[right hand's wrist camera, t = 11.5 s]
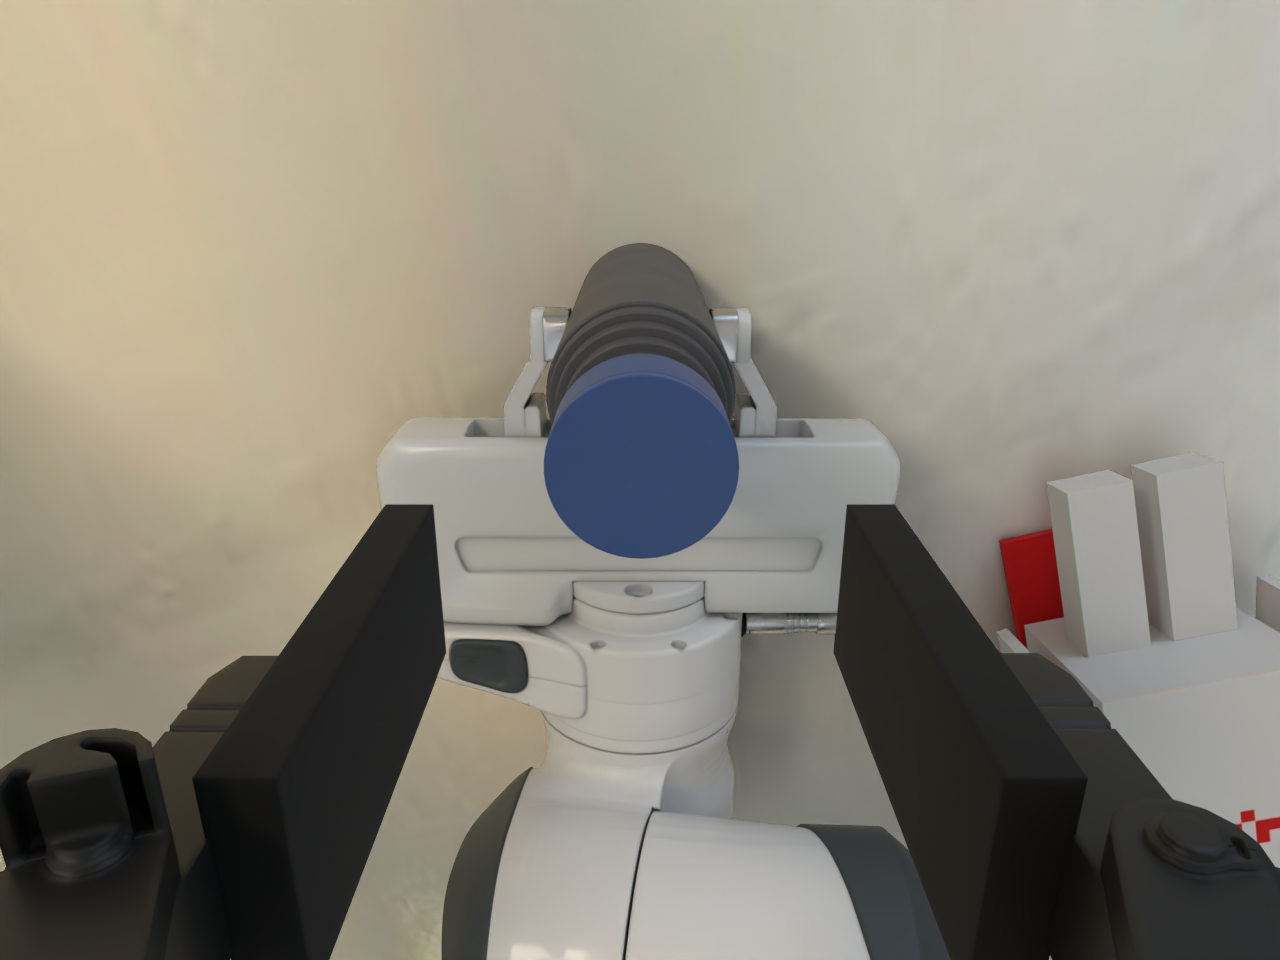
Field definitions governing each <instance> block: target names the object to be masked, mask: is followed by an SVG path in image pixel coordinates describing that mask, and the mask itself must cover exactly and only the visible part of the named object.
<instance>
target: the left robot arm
mask: <svg viewBox="0 0 1280 960" xmlns="http://www.w3.org/2000/svg"><path fill="white" fill-rule="evenodd" d="M571 313H572V310H571V308H562V307H533V308H532V310H531V312H530V321H529V330H530V354H531V356H530V358H529V359H528V361H527V363H526V365H525V367H524V369H523V371H522V372H521V374H520V376H519V378H518V380H517V382H516V384H515V385H514V387H513V389H512V391H511V393H510V395H509V397H508V399H507V401H506V402H505V404H504V406H503V407H504V418H431V417H420V418H413V419H410V420H408V421H407V422H406V423H405V424H404V425H403V426H402V427H401V428H400V429H399V430H398V431H397V432H396V433H395V434H394V435H393V436H392V437H391V438H390V439H389V441H388V442H387V444H386V445H385V447H384V448H383V449H382V451H381V453H380V455H379V458H378V462H377V483H378V492H379V499H380V505H381V510H382V509H383V508H384V506H385V505H386V504H433V508H434V519H435V530H436V542H437V553H438V564H439V576H440V587H441V598H442V610H443V621H444V632H445V643H446V655H445V657H444V660H443V663H442V665H441V668H440V670H439V673H438V676H437V678H440V679H442V680H446V681H449V682H452V683H456V684H460V685H464V686H467V687H471V688H475V689H478V690H482V691H485V692H489V693H492V694H496V695H499V696H502V697H505V698H508V699H512V700H515V701H518V702H520V703H523V704H526V705H529V706H532V707H534V708H537V709H539V710H541V714H542V717H543V720H544V723H545V727H546V731H547V749H546V755H545V758H544V762H543V763H542V764H541V765H540V766H539V767H538V768H533V767H530V768H529V769H527V770H526V771H524V772H523V773H522V774H521V775H519V776H518V777H517V778H516V779H515V780H514V781H513V782H512V783H511V784H510V785H509V786H508V787H507V788H506V789H505V790H504V791H503V792H502V793H501V794H500V795H499V796H498V797H497V798H496V799H495V800H494V801H493V803H492V804H491V805H490V806H489V807H488V808H487V809H486V810H485V811H484V812H483V813H482V814H481V815H480V817H479V818H478V819H477V820H476V822H475V823H474V824H473V826H472V827H471V829H470V830H469V832H468V833H467V835H466V837H465V839H464V841H463V843H462V845H461V847H460V849H459V852H458V854H457V857H456V859H455V862H454V865H453V868H452V871H451V874H450V877H449V881H448V885H447V890H446V896H445V903H444V912H443V924H442V960H951V959H950V956H949V954H948V951H947V948H946V946H945V943H944V941H943V938H942V935H941V933H940V930H939V927H938V925H937V922H936V920H935V917H934V914H933V912H932V909H931V907H930V904H929V901H928V899H927V896H926V893H925V891H924V888H923V886H922V883H921V880H920V878H919V875H918V872H917V870H916V867H915V865H914V862H913V859H912V857H911V854H910V851H909V850H908V849H907V848H906V847H904V846H903V845H902V844H901V843H900V842H899V841H898V840H897V839H896V838H894V837H893V836H892V835H891V834H890V833H889V832H887V831H886V830H885V829H884V828H882V827H880V826H856V825H820V824H800V825H798V826H796V827H795V826H786V825H777V824H769V823H760V822H751V821H743V820H734V819H732V813H733V798H734V769H733V764H732V760H731V757H730V754H729V751H728V745H727V741H728V736H729V733H730V731H731V728H732V726H733V724H734V721H735V718H736V714H737V709H738V699H739V680H740V660H741V637H743V635H745V634H750V635H751V634H756V635H758V634H775V635H776V634H786V633H787V634H788V633H792V632H793V633H797V632H815V633H816V634H824V635H830V634H835V632H836V621H837V610H838V598H839V587H840V576H841V564H842V553H843V542H844V530H845V519H846V508H847V504H894V505H895V502H896V497H897V491H898V485H899V479H900V460H899V458H898V455H897V453H896V451H895V449H894V448H893V447H892V445H891V444H890V442H889V441H888V440H887V438H886V437H885V436H884V435H883V434H882V433H881V432H880V431H879V430H878V429H877V428H876V427H875V426H874V425H873V424H872V423H871V422H869V421H867V420H865V419H856V418H855V419H847V418H777V406H776V404H775V402H774V400H773V398H772V396H771V394H770V392H769V391H768V389H767V387H766V385H765V383H764V381H763V379H762V377H761V376H760V374H759V372H758V370H757V368H756V366H755V364H754V362H753V361H752V359H751V357H750V352H751V330H752V319H751V312H750V310H749V309H748V308H710V310H709V313H710V315H711V317H712V320H713V322H714V324H715V327H716V329H717V332H718V334H719V336H720V339H721V341H722V344H723V346H724V348H725V351H726V353H727V356H728V358H729V361H730V362H733V364H734V366H735V368H736V370H737V372H738V374H739V376H740V377H741V379H742V381H743V383H744V385H745V387H746V388H747V390H748V392H749V394H750V396H749V395H748V394H747V393H738V394H737V395H736V396H735V410H734V418H732V419H731V424H730V426H731V429H732V432H733V435H734V438H735V441H736V445H737V450H738V455H739V477H738V483H737V488H736V492H735V494H734V497H733V500H732V502H731V504H730V506H729V508H728V510H727V512H726V514H725V515H724V516H723V518H722V519H721V521H720V522H719V523H718V524H717V525H716V526H715V527H714V529H713V530H712V531H711V532H710V533H708V534H707V535H706V536H705V537H704V538H702V539H701V540H700V541H698V542H696V543H695V544H693V545H692V546H690V547H688V548H686V549H684V550H681V551H679V552H676V553H673V554H670V555H667V556H662V557H657V558H647V559H637V558H626V557H620V556H616V555H613V554H609V553H606V552H604V551H601V550H599V549H597V548H595V547H593V546H591V545H589V544H588V543H586V542H585V541H583V540H582V539H580V538H579V537H578V536H576V535H575V534H574V533H573V532H572V531H571V530H570V529H569V528H568V527H567V526H566V525H565V523H564V522H563V521H562V520H561V518H560V517H559V515H558V514H557V512H556V511H555V509H554V507H553V505H552V503H551V500H550V498H549V496H548V492H547V489H546V485H545V479H544V455H545V448H546V445H547V441H548V438H549V434H550V431H551V428H552V424H551V420H550V418H546V403H545V395H544V394H543V393H533V394H532V395H531V393H532V391H533V389H534V387H535V385H536V383H537V382H538V380H539V378H540V376H541V374H542V372H543V371H544V369H545V367H546V365H547V363H548V361H552V360H553V358H554V355H555V353H556V350H557V348H558V345H559V343H560V340H561V338H562V335H563V333H564V330H565V328H566V325H567V323H568V320H569V318H570V315H571Z"/></svg>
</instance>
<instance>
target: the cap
mask: <svg viewBox="0 0 1280 960" xmlns="http://www.w3.org/2000/svg"><path fill="white" fill-rule="evenodd" d="M738 477H739V455H738V450H737V445H736V441H735V438H734V435H733V432H732V429H731V426H730V423H729V420H728V417H727V414H726V411H725V408H724V406H723V404H722V402H721V400H720V398H719V396H718V395H717V393H716V392H715V390H714V389H713V388H712V386H711V385H710V384H709V383H708V382H707V381H706V380H705V379H704V378H703V377H702V376H701V375H699V374H698V373H697V372H696V371H694V370H693V369H691V368H689V367H688V366H686V365H685V364H682V363H680V362H678V361H676V360H673V359H670V358H667V357H663V356H658V355H652V354H632V355H624V356H620V357H615V358H612V359H610V360H607V361H604V362H602V363H600V364H598V365H596V366H594V367H593V368H591V369H590V370H588V371H587V372H586V373H584V374H583V375H582V376H581V377H580V378H579V379H577V380H576V381H575V382H574V384H573V385H572V386H571V387H570V388H569V390H568V391H567V392H566V394H565V396H564V397H563V399H562V400H561V403H560V405H559V407H558V409H557V412H556V415H555V418H554V421H553V425H552V428H551V431H550V434H549V438H548V441H547V445H546V448H545V455H544V479H545V485H546V489H547V492H548V496H549V498H550V500H551V503H552V505H553V507H554V509H555V511H556V512H557V514H558V515H559V517H560V518H561V520H562V521H563V522H564V523H565V525H566V526H567V527H568V528H569V529H570V530H571V531H572V532H573V533H574V534H575V535H576V536H578V537H579V538H580V539H582V540H583V541H585V542H586V543H588V544H589V545H591V546H593V547H595V548H597V549H599V550H601V551H604V552H606V553H609V554H613V555H616V556H620V557H626V558H637V559H647V558H657V557H662V556H667V555H670V554H673V553H676V552H679V551H681V550H684V549H686V548H688V547H690V546H692V545H693V544H695V543H696V542H698V541H700V540H701V539H702V538H704V537H705V536H706V535H707V534H708V533H710V532H711V531H712V530H713V529H714V527H715V526H716V525H717V524H718V523H719V522H720V521H721V519H722V518H723V516H724V515H725V514H726V512H727V510H728V508H729V506H730V504H731V502H732V500H733V497H734V494H735V492H736V488H737V483H738Z"/></svg>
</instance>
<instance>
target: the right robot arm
mask: <svg viewBox="0 0 1280 960" xmlns="http://www.w3.org/2000/svg"><path fill="white" fill-rule="evenodd" d="M445 655H446V643H445V632H444V621H443V610H442V598H441V587H440V576H439V564H438V553H437V542H436V530H435V519H434V508H433V504H386V505H385V506H384V508H383V509H382V510H381V512H380V513H379V515H378V516H377V517H376V519H375V520H374V522H373V523H372V525H371V526H370V527H369V529H368V530H367V532H366V533H365V534H364V536H363V537H362V539H361V540H360V542H359V543H358V544H357V546H356V547H355V549H354V550H353V551H352V553H351V554H350V556H349V557H348V558H347V560H346V561H345V563H344V564H343V566H342V567H341V568H340V570H339V571H338V573H337V574H336V575H335V577H334V578H333V580H332V581H331V583H330V584H329V585H328V587H327V588H326V590H325V591H324V592H323V594H322V595H321V597H320V598H319V600H318V601H317V602H316V604H315V605H314V607H313V608H312V609H311V611H310V612H309V614H308V615H307V617H306V618H305V619H304V621H303V622H302V624H301V625H300V626H299V628H298V629H297V631H296V632H295V633H294V635H293V636H292V638H291V639H290V641H289V642H288V643H287V645H286V646H285V648H284V649H283V650H282V652H281V653H280V655H279V656H242V657H240V658H239V659H237V660H236V661H234V662H233V663H231V664H230V665H228V666H227V667H225V668H223V669H222V670H220V671H219V672H217V673H216V674H214V675H213V676H211V677H210V678H208V680H207V681H206V682H205V683H204V685H203V686H202V687H201V688H200V690H199V691H198V692H197V693H196V694H195V696H194V697H193V698H192V699H191V701H190V702H189V703H188V704H187V706H188V707H187V710H183V711H182V712H181V713H180V714H179V715H178V717H177V718H176V719H175V720H174V722H173V723H172V724H171V725H170V731H169V732H165V733H164V734H163V735H162V737H161V738H160V739H159V740H158V741H157V743H156V744H155V745H154V746H153V748H152V744H151V742H150V741H148V740H147V739H146V738H145V737H143V736H142V735H141V734H139V733H138V732H133V731H128V730H122V729H117V728H111V729H99V730H86V731H82V732H79V733H75V734H71V735H68V736H64V737H60V738H57V739H53V740H51V741H49V742H47V743H45V744H43V745H40V746H38V747H36V748H34V749H32V750H29V751H27V752H25V753H23V754H22V755H20V756H19V757H17V758H16V759H15V760H13V761H12V762H10V763H9V764H7V765H6V766H5V767H3V768H2V769H0V848H1V851H2V854H3V857H4V861H5V864H6V868H5V870H4V871H1V872H0V960H230V958H231V960H329V959H330V956H331V954H332V951H333V948H334V946H335V943H336V941H337V938H338V935H339V933H340V930H341V927H342V925H343V922H344V920H345V917H346V914H347V912H348V909H349V907H350V904H351V901H352V899H353V896H354V893H355V891H356V888H357V886H358V883H359V880H360V878H361V875H362V872H363V870H364V867H365V865H366V862H367V859H368V857H369V854H370V851H371V849H372V846H373V844H374V841H375V838H376V836H377V833H378V830H379V828H380V825H381V823H382V820H383V817H384V815H385V812H386V809H387V807H388V804H389V802H390V799H391V796H392V794H393V791H394V788H395V786H396V783H397V781H398V778H399V775H400V773H401V770H402V768H403V765H404V762H405V760H406V757H407V754H408V752H409V749H410V747H411V744H412V741H413V739H414V736H415V733H416V731H417V728H418V726H419V723H420V720H421V718H422V715H423V712H424V710H425V707H426V705H427V702H428V699H429V697H430V694H431V691H432V689H433V686H434V684H435V681H436V678H437V676H438V673H439V670H440V668H441V665H442V663H443V660H444V657H445ZM834 655H835V657H836V660H837V663H838V665H839V668H840V670H841V673H842V676H843V678H844V681H845V684H846V686H847V689H848V691H849V694H850V697H851V699H852V702H853V705H854V707H855V710H856V712H857V715H858V718H859V720H860V723H861V726H862V728H863V731H864V733H865V736H866V739H867V741H868V744H869V747H870V749H871V752H872V754H873V757H874V760H875V762H876V765H877V768H878V770H879V773H880V775H881V778H882V781H883V783H884V786H885V788H886V791H887V794H888V796H889V799H890V802H891V804H892V807H893V809H894V812H895V815H896V817H897V820H898V823H899V825H900V828H901V830H902V833H903V836H904V838H905V841H906V844H907V846H908V849H909V851H910V854H911V857H912V859H913V862H914V865H915V867H916V870H917V872H918V875H919V878H920V880H921V883H922V886H923V888H924V891H925V893H926V896H927V899H928V901H929V904H930V907H931V909H932V912H933V914H934V917H935V920H936V922H937V925H938V927H939V930H940V933H941V935H942V938H943V941H944V943H945V946H946V948H947V951H948V954H949V956H950V959H951V960H1049V956H1051V958H1052V960H1280V868H1278V867H1275V866H1274V864H1273V863H1272V861H1271V860H1270V858H1269V857H1268V855H1267V854H1266V853H1265V851H1264V850H1263V848H1262V847H1261V845H1260V844H1259V843H1258V842H1257V841H1255V840H1254V839H1253V838H1252V837H1250V836H1249V835H1248V834H1247V833H1245V832H1244V831H1243V830H1242V829H1240V828H1239V827H1238V826H1237V825H1236V824H1234V823H1232V822H1230V821H1228V820H1226V819H1224V818H1222V817H1220V816H1218V815H1216V814H1214V813H1212V812H1210V811H1209V810H1207V809H1204V808H1200V807H1197V806H1194V805H1190V804H1187V803H1184V802H1181V801H1177V800H1173V799H1172V798H1171V796H1170V795H1169V794H1168V793H1167V792H1166V790H1165V789H1164V788H1163V787H1162V785H1161V784H1160V783H1159V782H1158V780H1157V779H1156V778H1155V777H1154V776H1153V774H1152V773H1151V772H1150V771H1149V769H1148V768H1147V767H1146V766H1145V765H1144V763H1143V762H1142V761H1141V760H1140V758H1139V757H1138V756H1137V755H1136V753H1135V752H1134V751H1133V750H1132V749H1131V747H1130V746H1129V745H1128V744H1127V742H1126V741H1125V740H1124V739H1123V737H1122V736H1121V735H1120V734H1119V733H1118V731H1117V730H1116V729H1112V728H1111V723H1110V722H1109V720H1108V719H1107V718H1106V717H1105V715H1104V714H1103V713H1102V712H1101V710H1100V709H1099V708H1098V707H1094V706H1093V701H1092V699H1091V698H1090V697H1089V696H1088V694H1087V693H1086V692H1085V691H1084V690H1083V688H1082V687H1081V686H1080V685H1079V683H1078V682H1077V681H1076V680H1075V679H1074V677H1073V676H1072V675H1071V674H1069V673H1067V672H1066V671H1064V670H1063V669H1061V668H1060V667H1058V666H1057V665H1055V664H1054V663H1052V662H1051V661H1049V660H1048V659H1046V658H1045V657H1043V656H1041V655H1040V654H1038V653H999V652H998V650H997V649H996V648H995V646H994V645H993V643H992V642H991V641H990V639H989V638H988V636H987V635H986V633H985V632H984V631H983V629H982V628H981V626H980V625H979V624H978V622H977V621H976V619H975V618H974V617H973V615H972V614H971V612H970V611H969V609H968V608H967V607H966V605H965V604H964V602H963V601H962V600H961V598H960V597H959V595H958V594H957V592H956V591H955V590H954V588H953V587H952V585H951V584H950V583H949V581H948V580H947V578H946V577H945V575H944V574H943V573H942V571H941V570H940V568H939V567H938V566H937V564H936V563H935V561H934V560H933V558H932V557H931V556H930V554H929V553H928V551H927V550H926V549H925V547H924V546H923V544H922V543H921V542H920V540H919V539H918V537H917V536H916V534H915V533H914V532H913V530H912V529H911V527H910V526H909V525H908V523H907V522H906V520H905V519H904V517H903V516H902V515H901V513H900V512H899V510H898V509H897V508H896V506H895V505H894V504H847V508H846V519H845V530H844V542H843V553H842V564H841V576H840V587H839V598H838V610H837V621H836V632H835V643H834Z"/></svg>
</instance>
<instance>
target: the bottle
mask: <svg viewBox="0 0 1280 960" xmlns="http://www.w3.org/2000/svg"><path fill="white" fill-rule="evenodd" d="M632 354H652V355H658V356H663V357H667V358H670V359H673V360H676V361H678V362H680V363H682V364H685V365H686V366H688V367H689V368H691V369H693V370H694V371H696V372H697V373H698V374H699V375H701V376H702V377H703V378H704V379H705V380H706V381H707V382H708V383H709V384H710V385H711V386H712V388H713V389H714V390H715V392H716V393H717V395H718V396H719V398H720V400H721V402H722V404H723V406H724V408H725V411H726V414H727V417H728V420H729V423H730V424H731V419H732V415H733V410H734V406H735V380H734V375H733V370H732V367H731V364H730V361H729V358H728V356H727V353H726V351H725V348H724V346H723V344H722V341H721V339H720V336H719V334H718V332H717V329H716V327H715V324H714V322H713V320H712V317H711V315H710V313H709V310H708V308H707V305H706V303H705V301H704V298H703V296H702V293H701V291H700V289H699V286H698V284H697V282H696V279H695V277H694V275H693V273H692V272H691V270H690V269H689V267H688V266H687V265H686V264H685V263H684V262H683V261H682V260H681V259H680V258H679V257H678V256H677V255H675V254H674V253H672V252H671V251H669V250H667V249H664V248H662V247H659V246H656V245H652V244H643V243H637V244H629V245H625V246H621V247H619V248H616V249H614V250H612V251H610V252H608V253H607V254H606V255H604V256H603V257H601V258H600V259H599V260H598V261H597V262H596V263H595V264H594V266H593V267H592V268H591V270H590V271H589V273H588V275H587V276H586V279H585V281H584V283H583V286H582V288H581V291H580V293H579V296H578V298H577V301H576V303H575V305H574V308H573V310H572V313H571V315H570V318H569V320H568V323H567V325H566V328H565V330H564V333H563V335H562V338H561V340H560V343H559V345H558V348H557V350H556V353H555V355H554V358H553V360H552V363H551V366H550V370H549V373H548V379H547V386H546V399H547V406H548V412H549V416H550V420H551V424H552V425H553V421H554V418H555V415H556V412H557V409H558V407H559V405H560V403H561V400H562V399H563V397H564V396H565V394H566V392H567V391H568V390H569V388H570V387H571V386H572V385H573V384H574V382H575V381H576V380H577V379H579V378H580V377H581V376H582V375H583V374H584V373H586V372H587V371H588V370H590V369H591V368H593V367H594V366H596V365H598V364H600V363H602V362H604V361H607V360H610V359H612V358H615V357H620V356H624V355H632Z"/></svg>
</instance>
